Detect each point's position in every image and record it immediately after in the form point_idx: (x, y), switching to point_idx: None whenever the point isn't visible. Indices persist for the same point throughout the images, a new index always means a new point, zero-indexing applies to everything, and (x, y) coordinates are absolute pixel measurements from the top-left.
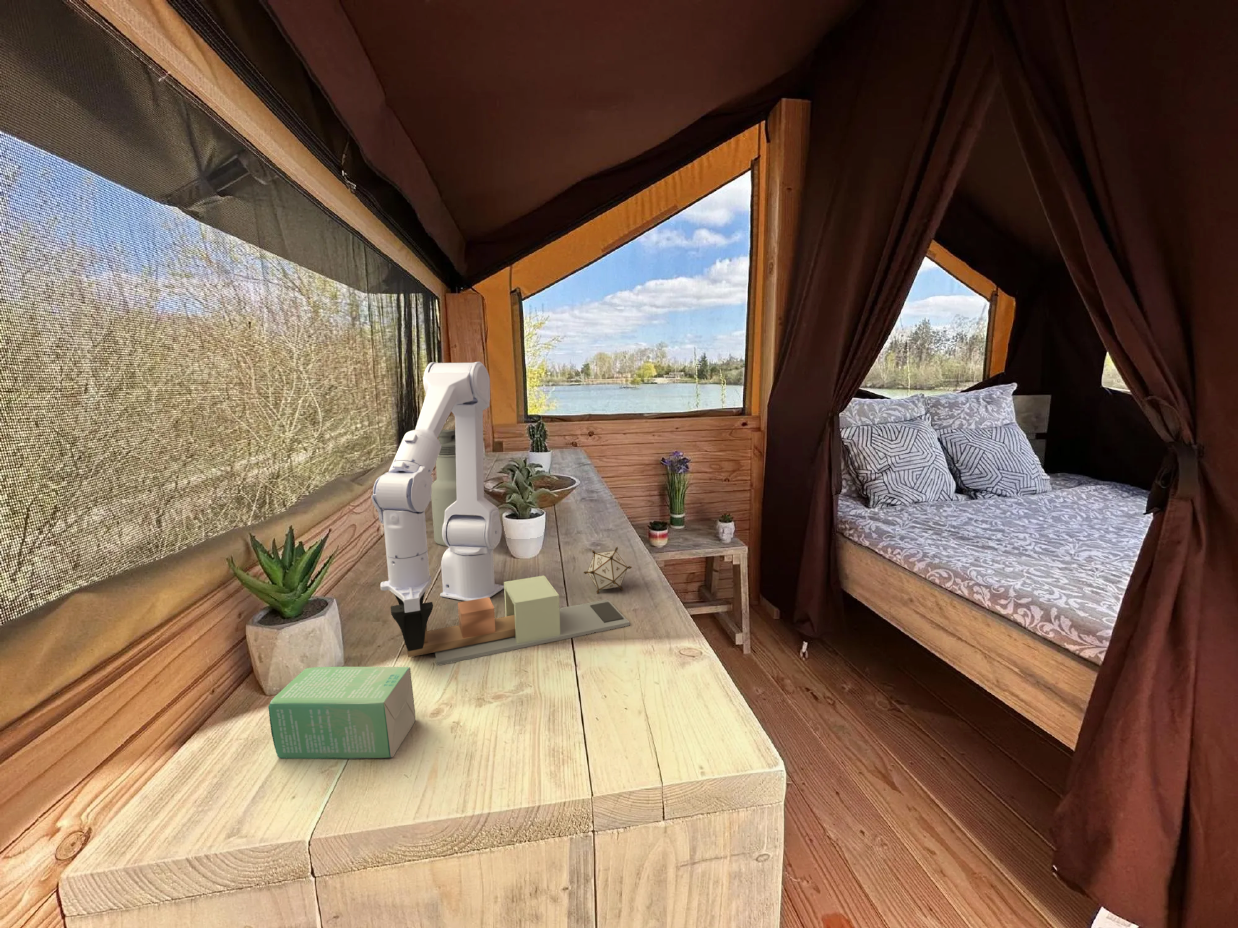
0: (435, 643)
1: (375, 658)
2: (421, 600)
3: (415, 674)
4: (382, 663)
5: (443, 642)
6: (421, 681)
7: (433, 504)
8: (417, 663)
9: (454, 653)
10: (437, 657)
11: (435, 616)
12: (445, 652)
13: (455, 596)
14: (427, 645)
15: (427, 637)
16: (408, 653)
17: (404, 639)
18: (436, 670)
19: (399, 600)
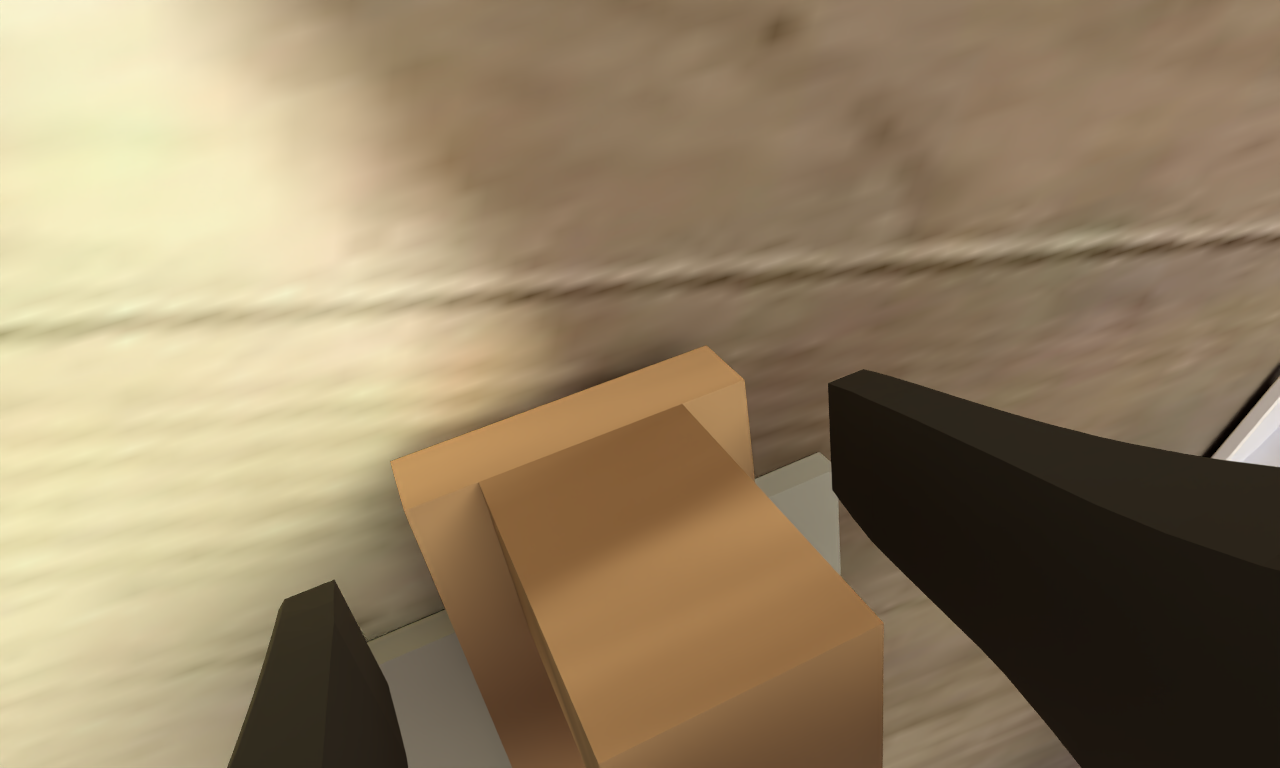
0: (502, 693)
1: (524, 58)
2: (1046, 707)
3: (149, 563)
4: (400, 172)
5: (510, 740)
6: (7, 658)
7: None
8: (365, 506)
9: (444, 749)
10: (392, 667)
11: (1079, 378)
12: (470, 687)
13: (1247, 442)
14: (471, 651)
15: (546, 671)
16: (401, 490)
17: (242, 729)
18: (226, 690)
19: (1137, 543)
